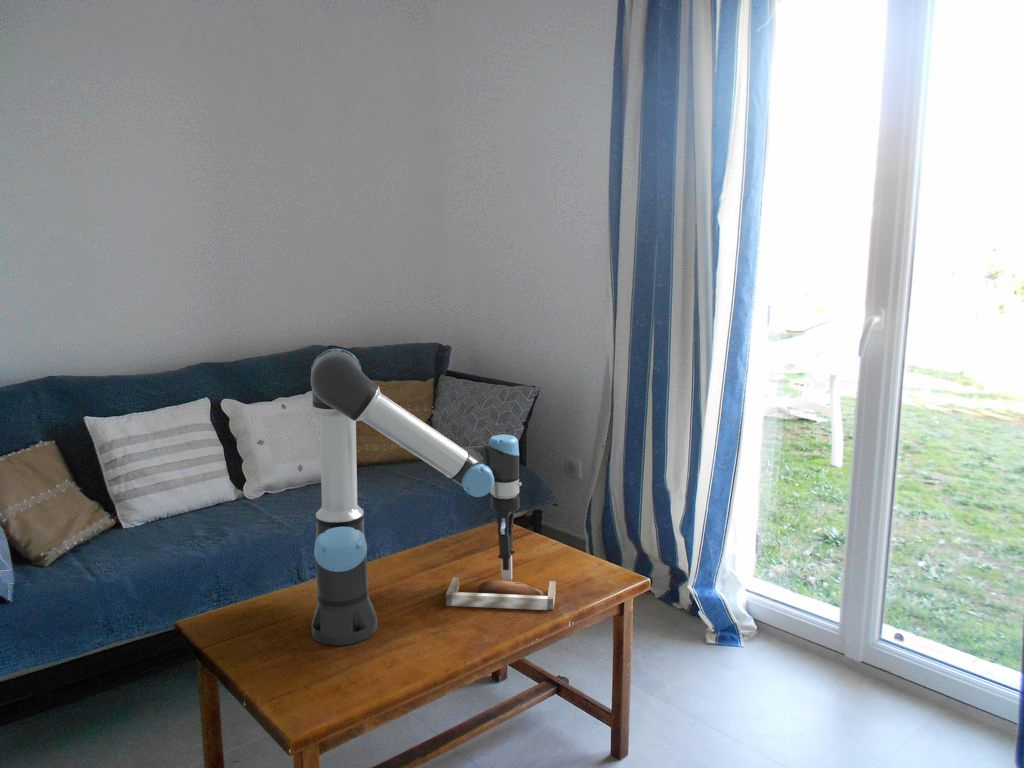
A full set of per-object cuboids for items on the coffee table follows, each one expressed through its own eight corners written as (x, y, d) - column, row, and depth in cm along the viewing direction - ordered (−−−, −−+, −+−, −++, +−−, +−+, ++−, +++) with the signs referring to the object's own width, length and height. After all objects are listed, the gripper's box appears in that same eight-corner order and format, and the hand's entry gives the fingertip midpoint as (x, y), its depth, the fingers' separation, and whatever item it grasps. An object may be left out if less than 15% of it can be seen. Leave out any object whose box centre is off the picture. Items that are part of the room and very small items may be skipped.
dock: (446, 605, 188) (445, 594, 188) (453, 587, 198) (453, 577, 198) (553, 610, 185) (553, 599, 185) (555, 592, 195) (555, 581, 195)
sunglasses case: (553, 594, 195) (549, 578, 191) (545, 617, 190) (540, 602, 186) (491, 582, 202) (485, 567, 198) (481, 604, 197) (475, 589, 193)
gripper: (516, 503, 188) (518, 590, 192) (522, 486, 201) (523, 569, 205) (486, 502, 189) (489, 589, 193) (494, 485, 202) (496, 568, 206)
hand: (506, 578), depth 199 cm, fingers closed
